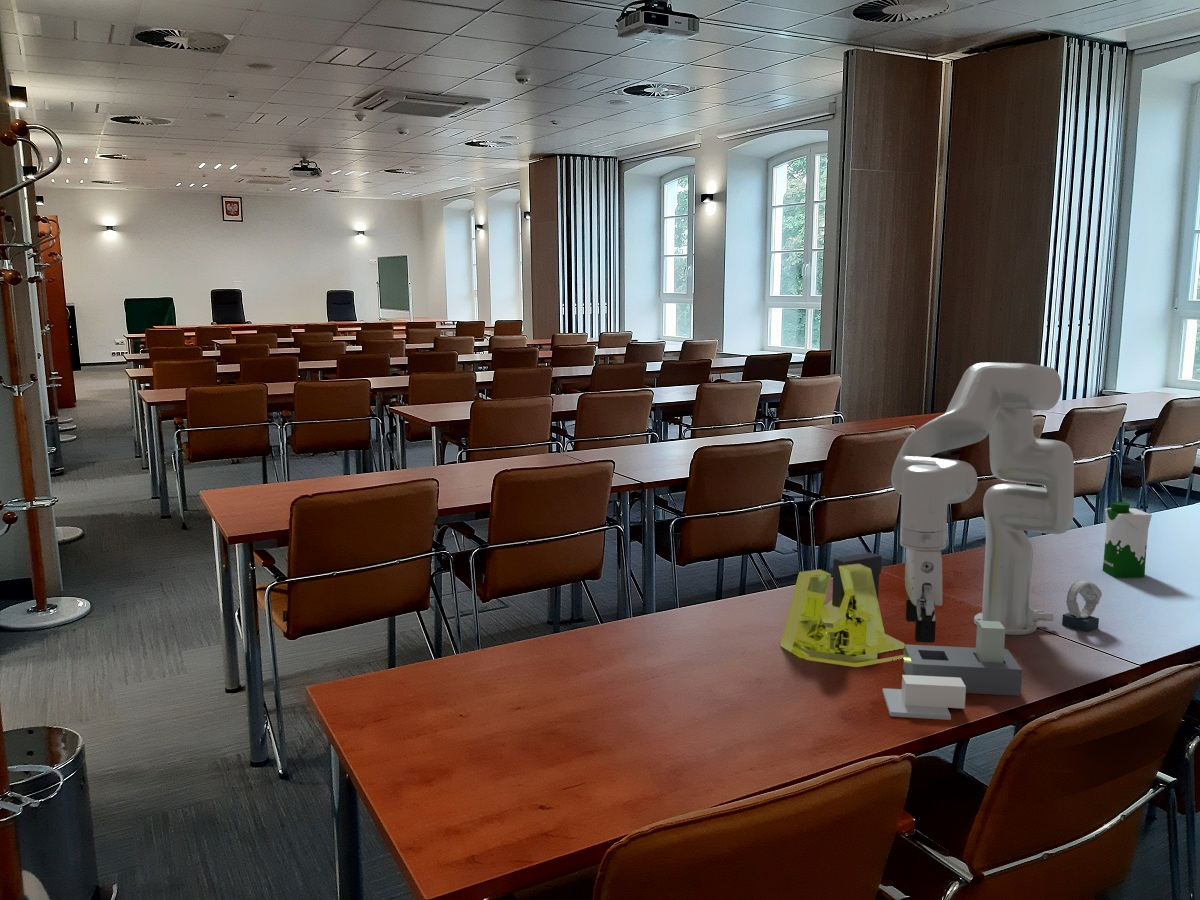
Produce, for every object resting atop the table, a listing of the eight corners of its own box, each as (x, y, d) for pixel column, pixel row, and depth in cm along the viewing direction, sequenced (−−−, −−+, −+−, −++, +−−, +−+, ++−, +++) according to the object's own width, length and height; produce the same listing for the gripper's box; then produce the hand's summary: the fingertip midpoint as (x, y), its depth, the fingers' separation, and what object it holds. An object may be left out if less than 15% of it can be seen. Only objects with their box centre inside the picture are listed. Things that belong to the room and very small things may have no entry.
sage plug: (996, 672, 173) (999, 621, 171) (1002, 680, 169) (1005, 628, 168) (974, 670, 174) (977, 620, 172) (979, 679, 170) (982, 627, 168)
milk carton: (1096, 574, 239) (1101, 499, 236) (1131, 574, 239) (1137, 499, 236) (1114, 584, 230) (1120, 507, 227) (1150, 584, 230) (1157, 506, 227)
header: (1006, 674, 176) (1007, 649, 175) (1020, 695, 166) (1022, 669, 165) (903, 668, 179) (904, 644, 178) (911, 689, 169) (912, 664, 168)
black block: (866, 614, 211) (868, 551, 208) (879, 619, 207) (882, 555, 204) (829, 622, 206) (830, 557, 203) (842, 627, 202) (844, 562, 200)
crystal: (774, 642, 194) (775, 571, 192) (871, 626, 203) (873, 558, 201) (826, 674, 177) (828, 596, 175) (929, 655, 186) (932, 581, 184)
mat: (939, 695, 166) (939, 691, 166) (950, 719, 157) (950, 715, 157) (882, 692, 168) (882, 688, 168) (890, 716, 158) (890, 711, 158)
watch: (1103, 630, 198) (1107, 581, 197) (1080, 637, 194) (1084, 587, 193) (1079, 623, 203) (1082, 575, 201) (1056, 629, 199) (1059, 580, 198)
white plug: (901, 695, 165) (959, 698, 163) (905, 705, 161) (964, 708, 159) (902, 674, 164) (960, 677, 162) (906, 683, 160) (965, 686, 159)
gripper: (956, 551, 149) (952, 651, 152) (936, 524, 165) (932, 614, 168) (908, 550, 150) (905, 649, 153) (893, 524, 167) (890, 613, 170)
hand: (919, 631), depth 161 cm, fingers open, 9 cm apart
